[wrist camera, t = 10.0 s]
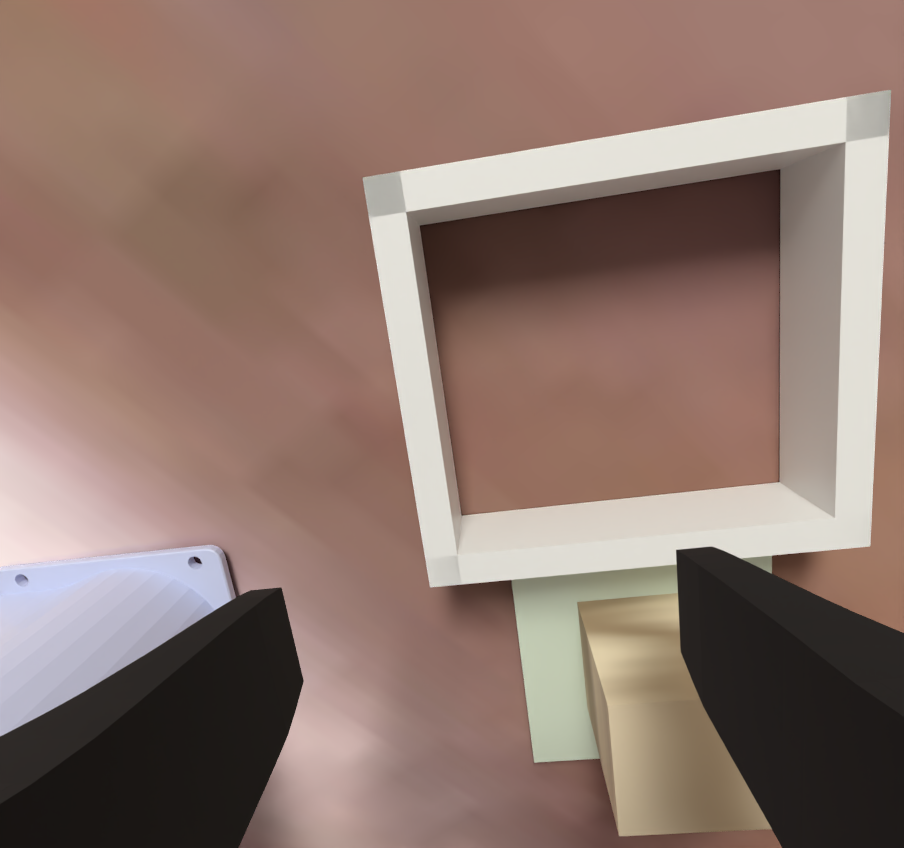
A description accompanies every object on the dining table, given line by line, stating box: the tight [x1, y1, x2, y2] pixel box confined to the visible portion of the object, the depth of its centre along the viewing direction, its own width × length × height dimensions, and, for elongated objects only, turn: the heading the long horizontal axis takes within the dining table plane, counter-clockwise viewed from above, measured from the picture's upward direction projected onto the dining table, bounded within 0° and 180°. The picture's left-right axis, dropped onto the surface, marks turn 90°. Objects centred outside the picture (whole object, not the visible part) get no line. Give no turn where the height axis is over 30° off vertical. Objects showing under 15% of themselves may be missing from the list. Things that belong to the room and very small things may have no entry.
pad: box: [511, 556, 772, 763], centre depth 20 cm, size 9×9×1 cm
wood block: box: [577, 593, 772, 836], centre depth 17 cm, size 4×4×5 cm
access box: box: [363, 90, 891, 587], centre depth 16 cm, size 13×12×3 cm
